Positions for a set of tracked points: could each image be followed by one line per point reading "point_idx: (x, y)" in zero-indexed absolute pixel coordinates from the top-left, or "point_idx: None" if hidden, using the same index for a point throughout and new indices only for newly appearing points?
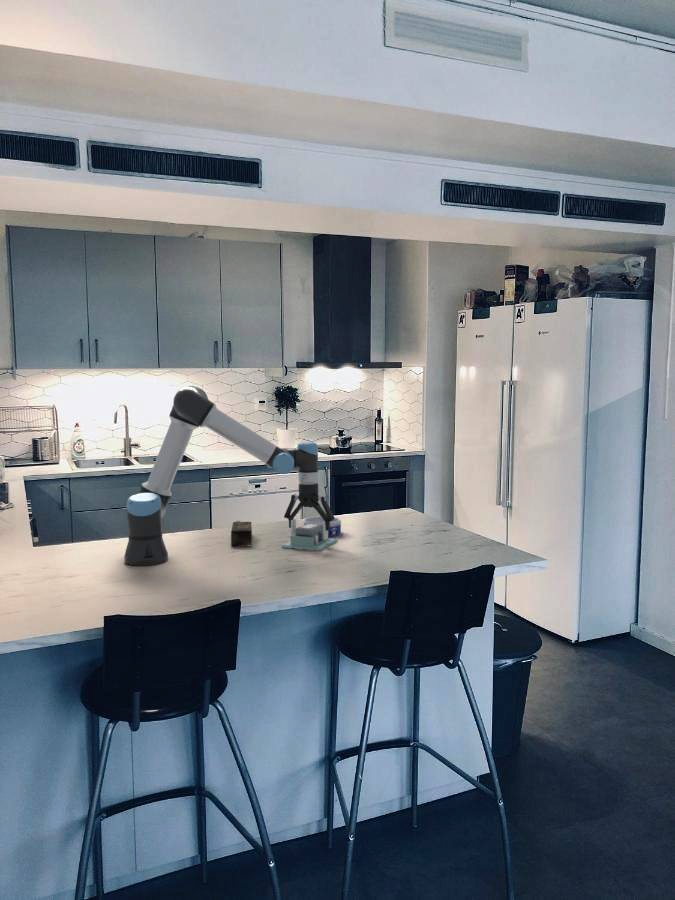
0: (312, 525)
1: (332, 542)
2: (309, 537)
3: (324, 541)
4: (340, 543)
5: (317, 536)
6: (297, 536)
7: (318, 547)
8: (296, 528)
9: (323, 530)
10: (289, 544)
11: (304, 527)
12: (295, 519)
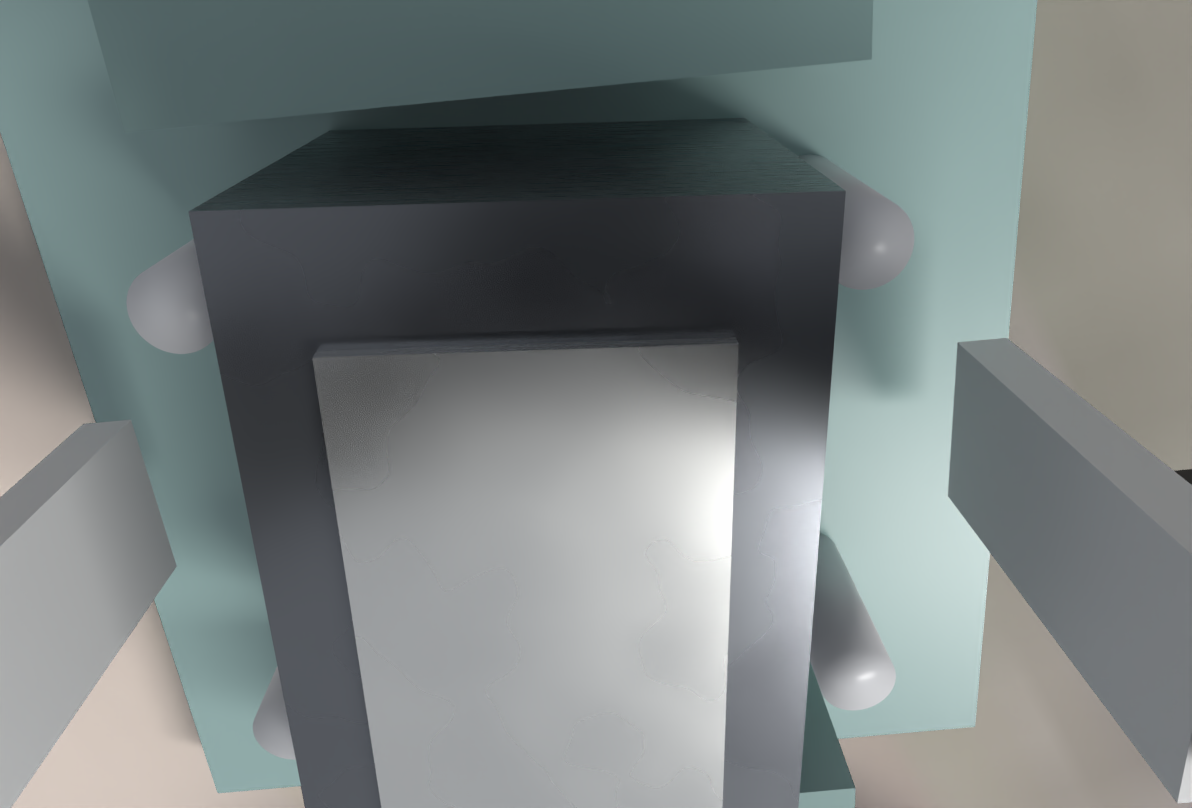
0: (501, 730)
1: (172, 613)
2: (213, 31)
3: None
4: None
5: (131, 295)
6: None
7: (50, 39)
8: (814, 213)
9: (2, 538)
10: (875, 10)
11: (579, 403)
12: (1169, 784)
